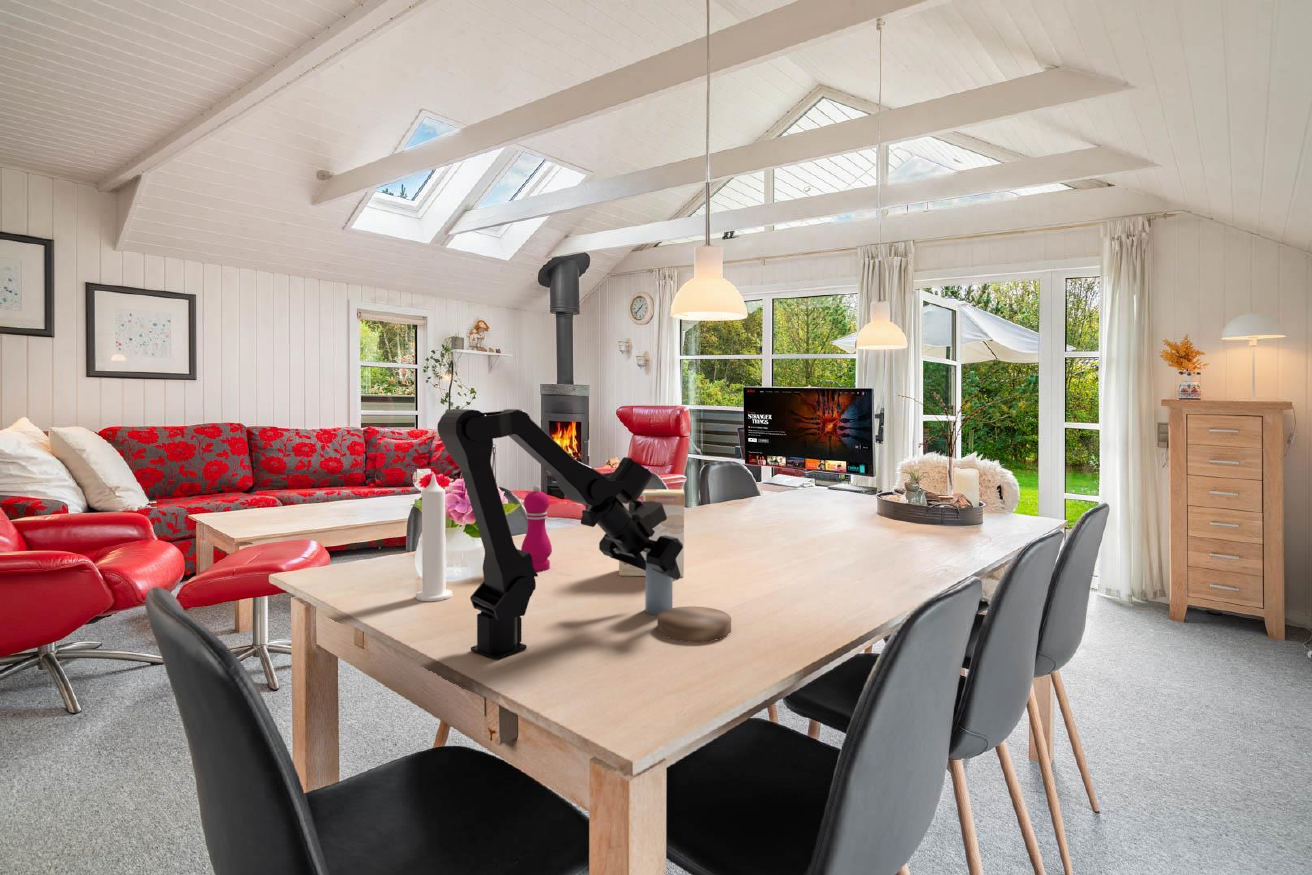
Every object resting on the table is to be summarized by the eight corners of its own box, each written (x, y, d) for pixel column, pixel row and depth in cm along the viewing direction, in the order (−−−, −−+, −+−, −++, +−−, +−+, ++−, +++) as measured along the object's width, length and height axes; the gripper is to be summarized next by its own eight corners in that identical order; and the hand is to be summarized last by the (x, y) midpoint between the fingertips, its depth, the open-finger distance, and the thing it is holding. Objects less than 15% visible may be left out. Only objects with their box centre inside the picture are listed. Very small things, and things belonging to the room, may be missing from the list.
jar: (661, 616, 131) (662, 550, 131) (639, 611, 134) (640, 546, 134) (678, 610, 135) (678, 546, 135) (656, 605, 139) (656, 542, 138)
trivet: (704, 649, 115) (705, 634, 115) (642, 632, 123) (642, 618, 123) (744, 629, 126) (744, 615, 125) (684, 615, 133) (685, 602, 133)
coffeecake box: (683, 570, 168) (684, 488, 167) (683, 577, 161) (684, 492, 160) (621, 568, 168) (622, 487, 167) (618, 576, 161) (619, 491, 160)
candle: (408, 598, 141) (407, 474, 140) (434, 590, 147) (433, 471, 146) (434, 603, 138) (433, 476, 137) (459, 594, 144) (459, 473, 143)
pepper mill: (545, 572, 164) (545, 487, 163) (516, 570, 165) (516, 486, 164) (556, 565, 171) (556, 483, 170) (527, 563, 172) (528, 482, 171)
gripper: (675, 494, 124) (718, 547, 131) (611, 483, 138) (653, 532, 146) (640, 544, 119) (687, 596, 127) (578, 528, 133) (623, 576, 141)
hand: (662, 572), depth 135 cm, fingers open, 9 cm apart
